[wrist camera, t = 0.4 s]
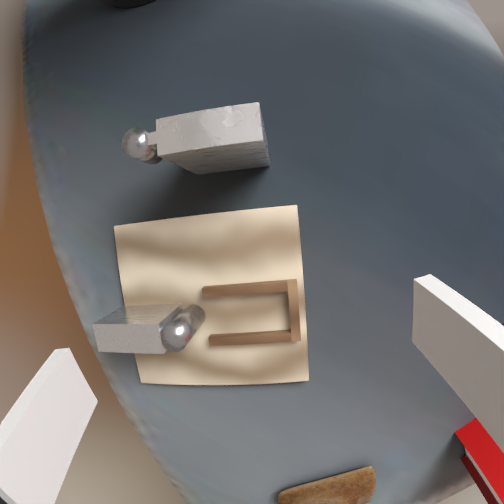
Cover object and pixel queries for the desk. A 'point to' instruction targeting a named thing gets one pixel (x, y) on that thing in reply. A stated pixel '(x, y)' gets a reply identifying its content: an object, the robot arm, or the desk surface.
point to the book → (483, 461)
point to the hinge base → (222, 294)
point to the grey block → (204, 140)
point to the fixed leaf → (148, 328)
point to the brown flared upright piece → (334, 489)
